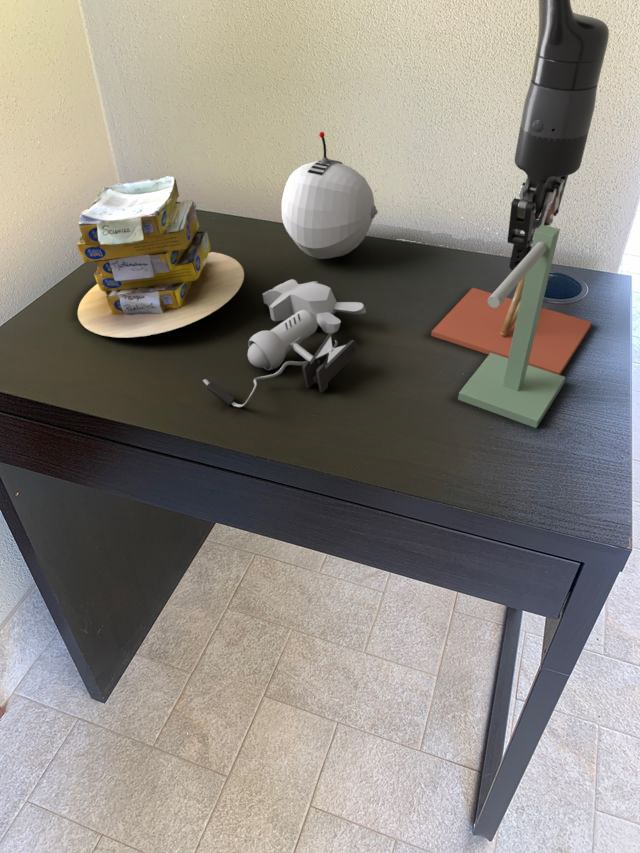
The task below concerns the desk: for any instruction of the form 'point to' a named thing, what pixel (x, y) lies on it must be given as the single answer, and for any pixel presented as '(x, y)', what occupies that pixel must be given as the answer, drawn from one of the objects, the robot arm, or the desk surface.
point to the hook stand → (519, 345)
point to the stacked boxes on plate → (150, 262)
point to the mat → (511, 331)
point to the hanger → (513, 309)
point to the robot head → (327, 207)
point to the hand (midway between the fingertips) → (526, 260)
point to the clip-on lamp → (275, 343)
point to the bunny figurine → (308, 303)
